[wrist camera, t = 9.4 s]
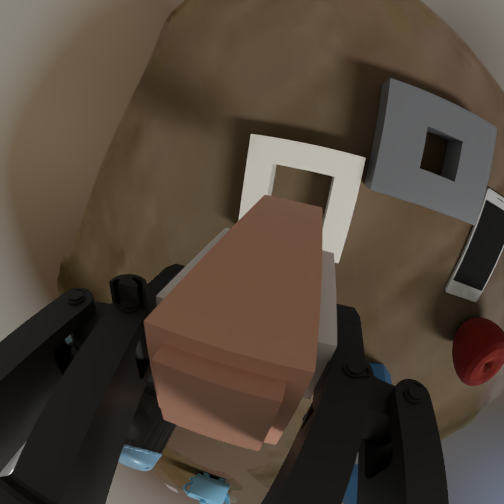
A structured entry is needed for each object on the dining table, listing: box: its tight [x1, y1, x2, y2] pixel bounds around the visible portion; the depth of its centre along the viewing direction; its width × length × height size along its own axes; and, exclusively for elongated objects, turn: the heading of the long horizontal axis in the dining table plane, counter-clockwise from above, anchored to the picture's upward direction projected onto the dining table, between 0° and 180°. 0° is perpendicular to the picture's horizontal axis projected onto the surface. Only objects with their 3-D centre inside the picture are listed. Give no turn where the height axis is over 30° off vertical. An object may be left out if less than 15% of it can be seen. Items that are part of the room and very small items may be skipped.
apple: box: [452, 318, 504, 386], centre depth 27 cm, size 10×10×10 cm
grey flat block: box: [364, 78, 497, 226], centre depth 23 cm, size 14×12×4 cm
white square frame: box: [238, 134, 366, 263], centre depth 29 cm, size 12×12×3 cm
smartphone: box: [445, 188, 504, 302], centre depth 26 cm, size 7×16×1 cm, turn 168°
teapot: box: [183, 472, 230, 504], centre depth 73 cm, size 22×11×14 cm, turn 71°
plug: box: [144, 195, 323, 451], centre depth 12 cm, size 4×4×15 cm
